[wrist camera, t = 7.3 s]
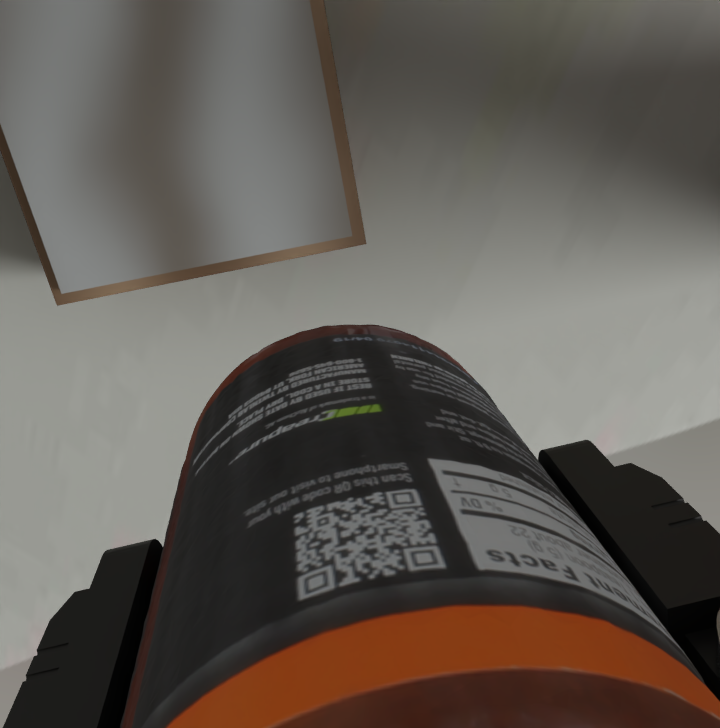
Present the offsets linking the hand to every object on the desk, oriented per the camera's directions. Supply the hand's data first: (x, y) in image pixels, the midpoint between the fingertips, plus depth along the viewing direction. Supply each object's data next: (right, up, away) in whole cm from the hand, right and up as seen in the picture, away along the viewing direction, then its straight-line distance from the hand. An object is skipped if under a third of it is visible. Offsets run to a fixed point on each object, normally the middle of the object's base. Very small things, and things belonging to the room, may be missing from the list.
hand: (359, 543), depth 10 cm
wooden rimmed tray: (-7, +14, +18) cm, 23 cm away
